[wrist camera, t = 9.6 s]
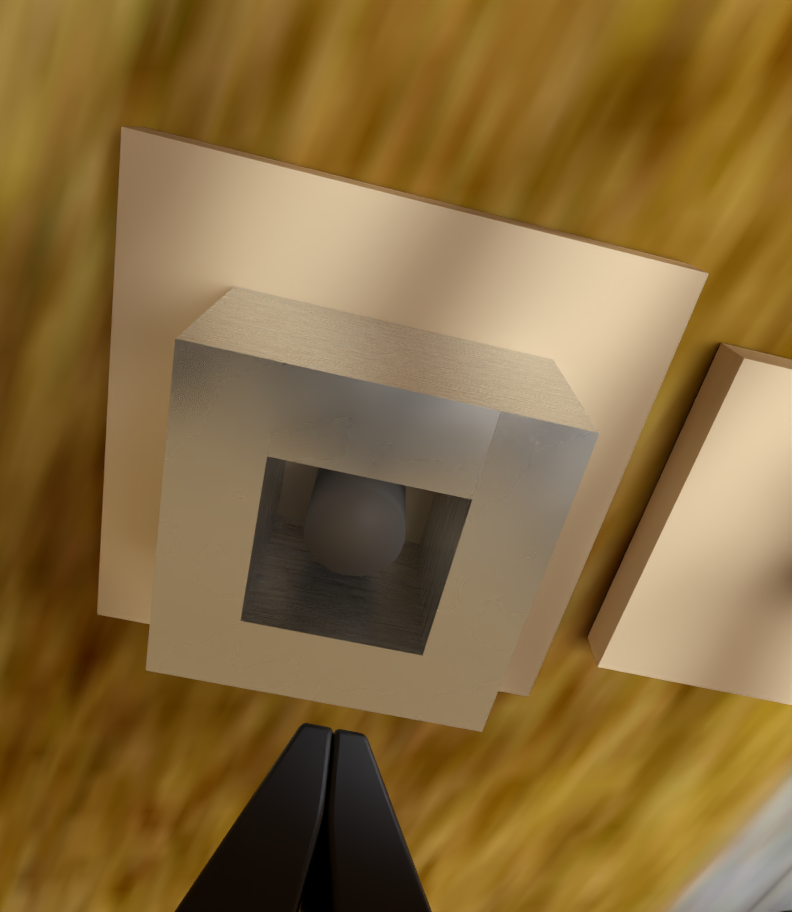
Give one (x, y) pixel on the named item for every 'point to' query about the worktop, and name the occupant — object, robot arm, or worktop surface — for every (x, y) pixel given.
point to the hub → (377, 296)
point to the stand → (714, 544)
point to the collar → (369, 455)
